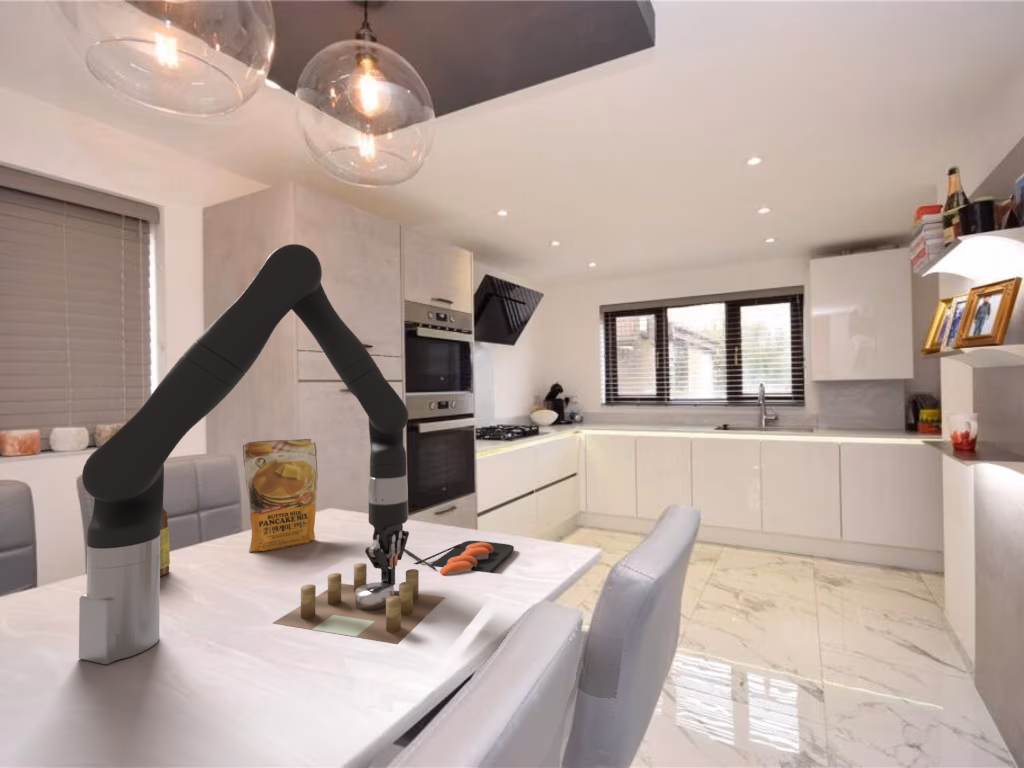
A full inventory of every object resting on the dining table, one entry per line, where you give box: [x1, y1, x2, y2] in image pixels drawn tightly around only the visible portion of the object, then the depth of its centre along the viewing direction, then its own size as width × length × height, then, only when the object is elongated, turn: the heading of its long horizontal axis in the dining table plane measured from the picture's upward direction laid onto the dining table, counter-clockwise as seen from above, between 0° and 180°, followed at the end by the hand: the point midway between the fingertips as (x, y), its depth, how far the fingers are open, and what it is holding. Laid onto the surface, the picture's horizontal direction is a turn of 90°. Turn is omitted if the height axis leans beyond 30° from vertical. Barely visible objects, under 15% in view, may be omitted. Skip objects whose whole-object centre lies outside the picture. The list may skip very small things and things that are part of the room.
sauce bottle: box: [160, 507, 171, 577], centre depth 109 cm, size 7×6×20 cm
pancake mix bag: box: [242, 438, 318, 552], centre depth 130 cm, size 7×19×28 cm, turn 129°
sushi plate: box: [403, 540, 515, 576], centre depth 117 cm, size 29×30×4 cm
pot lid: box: [355, 582, 395, 611], centre depth 91 cm, size 7×7×3 cm
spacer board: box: [272, 562, 446, 645], centre depth 89 cm, size 18×24×6 cm
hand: (388, 586), depth 96 cm, fingers closed
